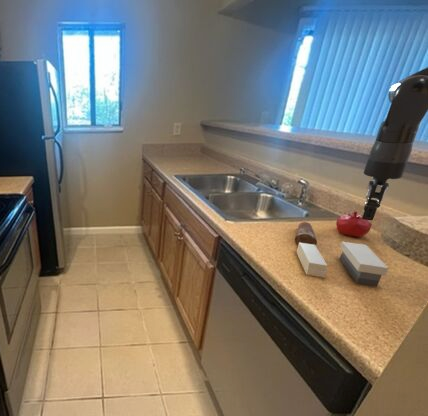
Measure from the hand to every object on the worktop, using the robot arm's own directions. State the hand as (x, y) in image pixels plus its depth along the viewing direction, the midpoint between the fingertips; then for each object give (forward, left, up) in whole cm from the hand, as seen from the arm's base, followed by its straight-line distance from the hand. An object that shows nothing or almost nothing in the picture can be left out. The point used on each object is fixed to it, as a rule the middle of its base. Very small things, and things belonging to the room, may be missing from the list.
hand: (367, 215), depth 78 cm
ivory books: (+11, +1, -18) cm, 21 cm away
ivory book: (-1, +1, -14) cm, 14 cm away
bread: (+8, -19, -18) cm, 28 cm away
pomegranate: (-9, -30, -18) cm, 36 cm away
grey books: (-1, +1, -18) cm, 18 cm away
